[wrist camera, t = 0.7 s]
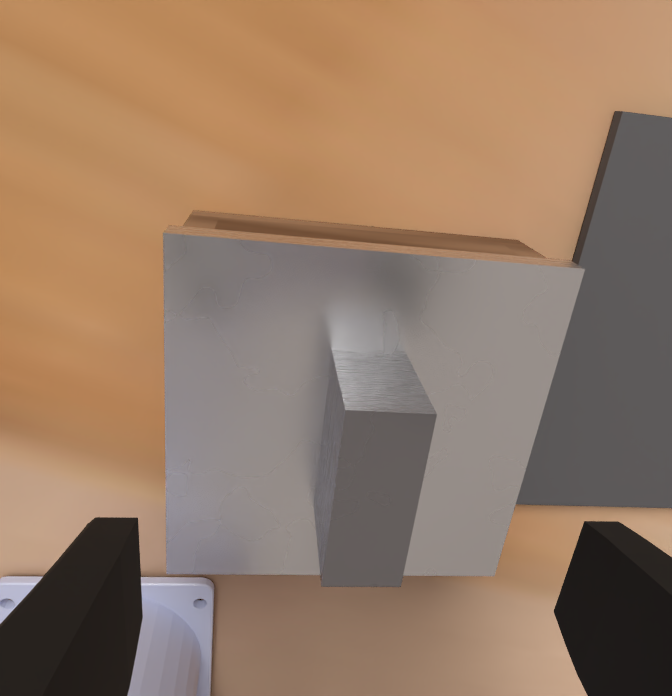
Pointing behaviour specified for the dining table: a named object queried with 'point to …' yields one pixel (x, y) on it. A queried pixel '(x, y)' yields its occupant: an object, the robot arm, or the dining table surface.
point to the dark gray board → (616, 339)
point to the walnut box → (357, 233)
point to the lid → (351, 403)
